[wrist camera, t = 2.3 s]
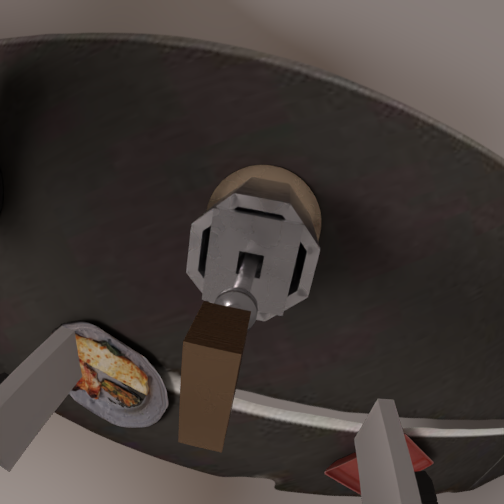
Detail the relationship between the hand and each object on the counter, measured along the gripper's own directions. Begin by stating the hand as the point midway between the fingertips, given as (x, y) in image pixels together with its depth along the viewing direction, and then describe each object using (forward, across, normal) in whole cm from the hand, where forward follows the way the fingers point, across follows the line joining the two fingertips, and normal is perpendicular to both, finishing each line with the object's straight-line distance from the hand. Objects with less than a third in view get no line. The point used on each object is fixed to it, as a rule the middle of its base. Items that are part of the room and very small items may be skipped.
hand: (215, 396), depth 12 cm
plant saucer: (+30, +33, -44) cm, 62 cm away
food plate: (+30, -24, -33) cm, 50 cm away
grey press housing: (+29, 0, 0) cm, 29 cm away
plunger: (+18, 0, 0) cm, 18 cm away
